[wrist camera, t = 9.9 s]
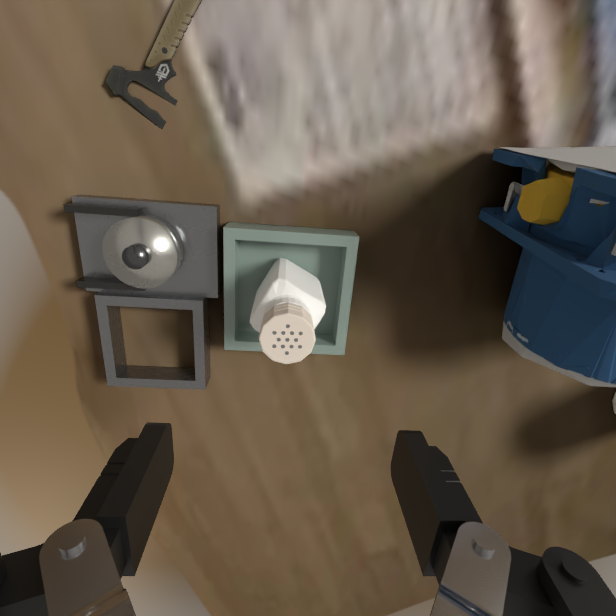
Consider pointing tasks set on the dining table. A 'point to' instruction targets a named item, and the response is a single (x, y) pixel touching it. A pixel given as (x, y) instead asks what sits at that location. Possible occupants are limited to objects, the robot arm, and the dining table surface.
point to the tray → (304, 253)
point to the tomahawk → (156, 61)
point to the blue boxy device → (562, 259)
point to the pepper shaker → (287, 312)
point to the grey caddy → (149, 275)
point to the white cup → (614, 403)
